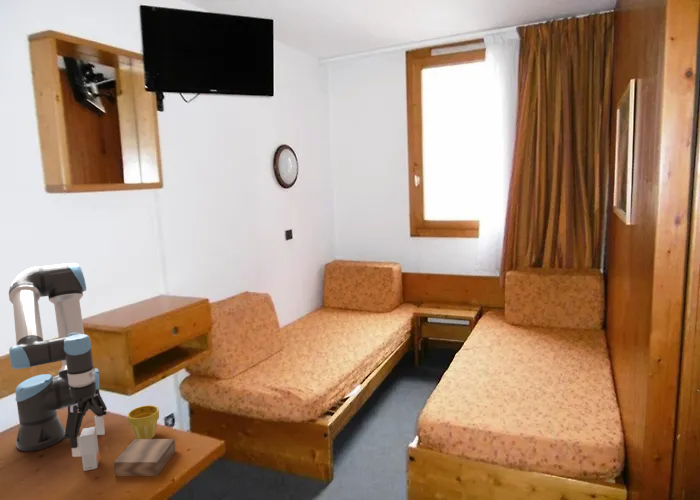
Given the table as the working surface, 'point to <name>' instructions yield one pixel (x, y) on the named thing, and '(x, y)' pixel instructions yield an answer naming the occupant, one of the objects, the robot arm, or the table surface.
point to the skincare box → (89, 448)
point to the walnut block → (144, 457)
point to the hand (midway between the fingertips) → (89, 444)
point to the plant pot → (144, 421)
